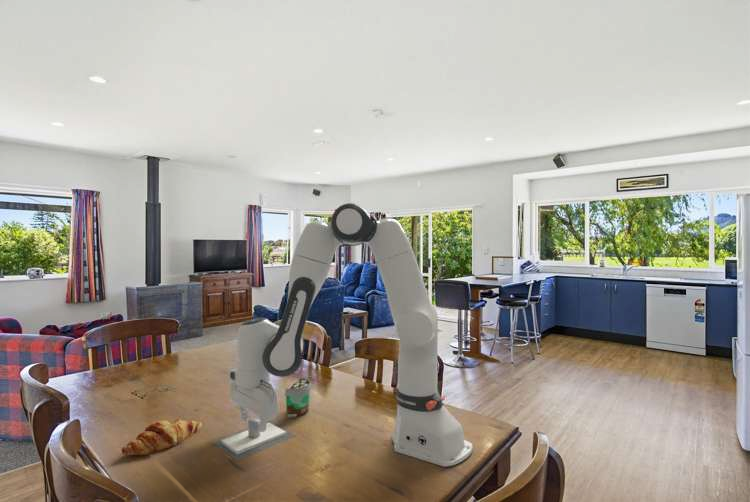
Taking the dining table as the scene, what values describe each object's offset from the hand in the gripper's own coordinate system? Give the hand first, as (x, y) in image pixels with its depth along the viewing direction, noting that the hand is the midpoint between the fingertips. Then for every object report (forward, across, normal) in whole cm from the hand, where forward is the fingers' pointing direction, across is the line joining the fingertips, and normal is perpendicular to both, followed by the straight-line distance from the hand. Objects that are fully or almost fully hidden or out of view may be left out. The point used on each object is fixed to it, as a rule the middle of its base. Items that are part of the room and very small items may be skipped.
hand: (253, 425), depth 113 cm
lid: (+4, 0, 0) cm, 4 cm away
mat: (+4, 0, 0) cm, 4 cm away
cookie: (+6, +62, +6) cm, 62 cm away
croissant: (+5, +16, +18) cm, 24 cm away
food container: (+4, +5, -20) cm, 21 cm away
